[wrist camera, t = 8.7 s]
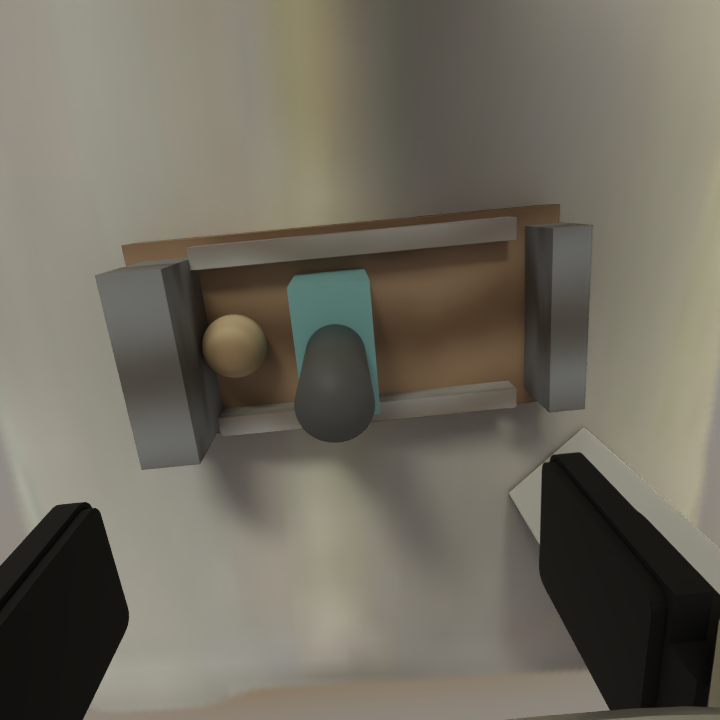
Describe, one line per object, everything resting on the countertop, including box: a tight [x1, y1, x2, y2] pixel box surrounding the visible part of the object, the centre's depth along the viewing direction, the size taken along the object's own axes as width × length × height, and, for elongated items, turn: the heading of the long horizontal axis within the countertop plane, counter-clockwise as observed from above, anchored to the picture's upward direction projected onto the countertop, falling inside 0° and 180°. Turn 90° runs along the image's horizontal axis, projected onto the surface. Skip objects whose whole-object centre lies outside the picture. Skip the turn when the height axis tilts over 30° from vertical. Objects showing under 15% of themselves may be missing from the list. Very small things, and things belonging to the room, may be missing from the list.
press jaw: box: [287, 268, 381, 442], centre depth 25 cm, size 7×4×12 cm, turn 5°
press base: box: [95, 204, 593, 470], centre depth 29 cm, size 12×25×8 cm, turn 95°
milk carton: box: [509, 428, 720, 594], centre depth 28 cm, size 7×7×19 cm
